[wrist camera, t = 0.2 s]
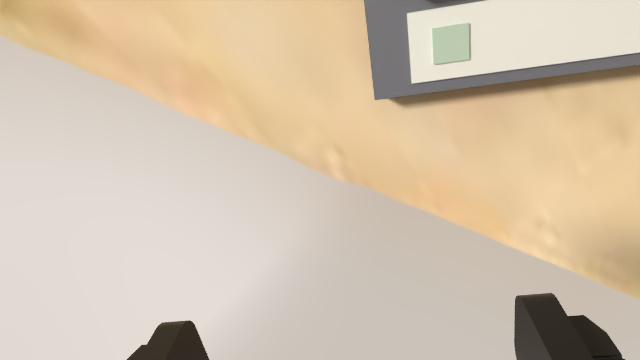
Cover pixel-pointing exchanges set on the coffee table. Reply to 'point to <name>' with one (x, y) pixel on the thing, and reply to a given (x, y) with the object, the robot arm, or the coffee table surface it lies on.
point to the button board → (494, 41)
